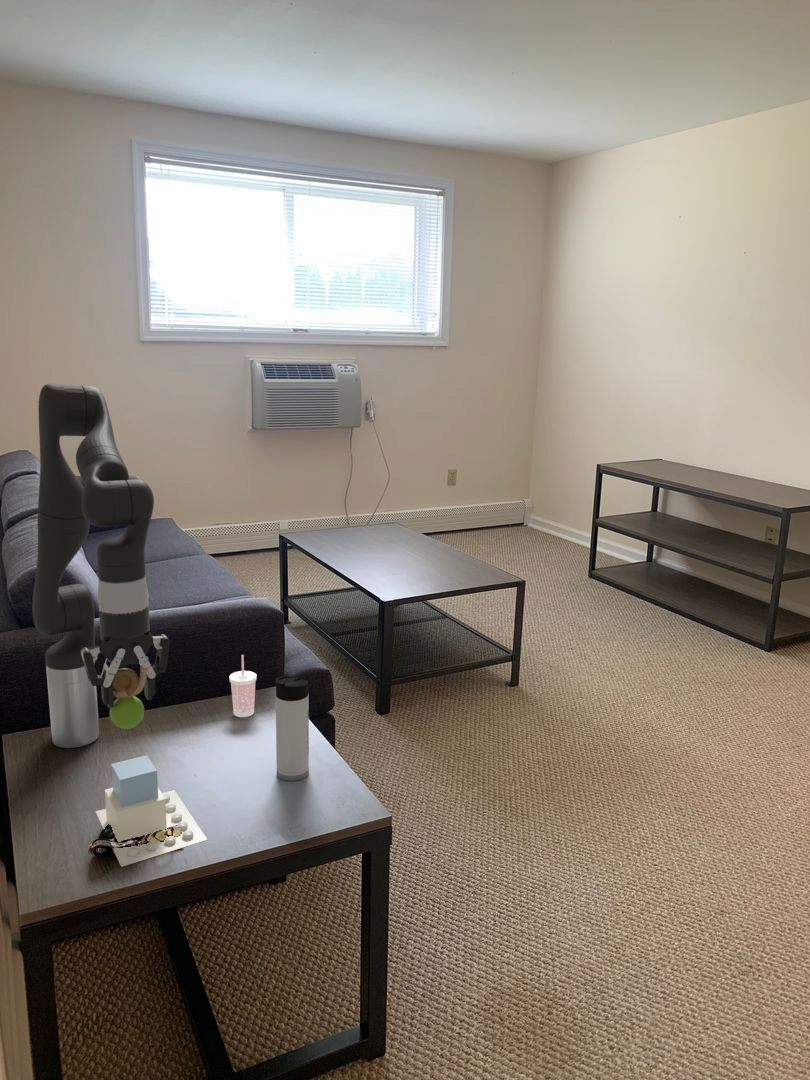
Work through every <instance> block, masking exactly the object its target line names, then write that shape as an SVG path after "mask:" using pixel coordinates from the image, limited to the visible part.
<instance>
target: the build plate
mask: <svg viewBox="0 0 810 1080" xmlns="http://www.w3.org/2000/svg"><path fill="white" fill-rule="evenodd" d="M161 793H162V794H163V796H164V797H165V803H166V823H167V828H169V827H171V826H173V825H174V826H175V825H177V828H178V829H181V830H183V832H182V834H181V835H180V836H178V837H174V836H169V837H166V838H165V840H164V842H158V843H157V842H149V843H147V844H142V845H140V846H139V844H138V846H131V847H123V848H114V849H113V848H112V850H113V852H114V854H115V856H116V858H117V861H118V862H119V865H120V867H121V868H122V867H126V866H129V865H132V864H135V863H138V862H141V861H145V860H148V859H151V858H154V857H157V856H160V855H163V854H167V853H170V852H173V851H176V850H180V849H182V848H185V847H188V846H193V845H196V844H198V843H202V842H206V841H207V840H208V838H207V836H206V835H205V833H204V832H203V831H202V829H201V828H200V826H199V825H198V823H197V822H196V820H195V819H194V817H193V816H192V814H191V813H190V811H189V810H188V808H187V807H186V805H185V803H184V802H183V800H182V799H181V798H180V796H179V795H178V793H177V792H176V790H175V789H173V790H168V791H165V792H161ZM94 812H95V814H96V816H97V818H98V821H99V823H100V824H101V826H102V829H103V830H104V829H105V827H106V826H107V825H108V823H107V818H106V808H102V809H100V810H99V809H98V810H95V811H94Z"/></svg>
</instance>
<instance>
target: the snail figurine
mask: <svg viewBox="0 0 810 1080" xmlns="http://www.w3.org/2000/svg"><path fill="white" fill-rule="evenodd" d="M146 657H147V659H148V660H149V657H148V656H146ZM139 671H140V673H139V676H138V674H137V672H136V671H135V670H133V669H132V668H128V667H120V668H118V670H117V673H116V674H115V675H114V678H113V680H112V683H111V685H112V687H113V698H116V699H115V700H113V701H114V707H112V708H109V717H110V720H111V722H112V723H113V725H115V727H117V728H119V729H123V730H128V729H132V728H135V727H136V726H138V725H139V724H140V723H141V722H142V721H143V718H144V717H145V706H144V703H143V702H142V700H141V699H140V698H139V697H137V695H139V694H140V693H141V692H142V691H143V690H144V686H145V683H146V679H147V671H148V667H147V668H145V669H144V668H143V667H142V665H140V667H139Z"/></svg>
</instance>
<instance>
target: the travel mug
mask: <svg viewBox="0 0 810 1080" xmlns="http://www.w3.org/2000/svg"><path fill="white" fill-rule="evenodd" d="M309 695H310V693H309V681H308V680H305V679H303V678H301V677H300V676H296V675H285V676H279V677H277V678H276V679H275V741H276V742H275V743H276V744H275V747H276V748H275V749H276V751H275V752H276V753H275V754H276V775H277V777H278V778H279V779H281V780H284V781H287V782H288V781H289V782H294V781H299V780H303V779H305V778H306V777H307V776H308V774H309V771H310V769H309V768H310V766H309V765H310V763H309V762H310V761H309V760H310V759H309V755H310V753H309V751H310V750H309V749H310V746H309V744H310V743H309V741H310V739H309V738H310V737H309V736H310V735H309V733H310V732H309V731H310V730H309V729H310V728H309V727H310V726H309V725H310V724H309V721H310V720H309V717H310V716H309V715H310V711H309V710H310V709H309V706H310V705H309V704H310V703H309V700H310V699H309V698H310V697H309Z"/></svg>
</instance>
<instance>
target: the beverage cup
mask: <svg viewBox="0 0 810 1080" xmlns="http://www.w3.org/2000/svg"><path fill="white" fill-rule="evenodd" d="M244 657H245V655H244V654H241V670H239V671H234V672H232V673H231V674H230V675H229V683H230V686H231V687H230V689H231V698H232V699H231V701H232V707H233V708H232V711H233V715H234V716H235V717H238V718H248V717H250V716H253V715H254V713H255V702H256V701H255V697H256V681H257V678H258V677H257V673H255V672H253V671H251V670H245V661H244V660H245V659H244Z"/></svg>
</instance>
